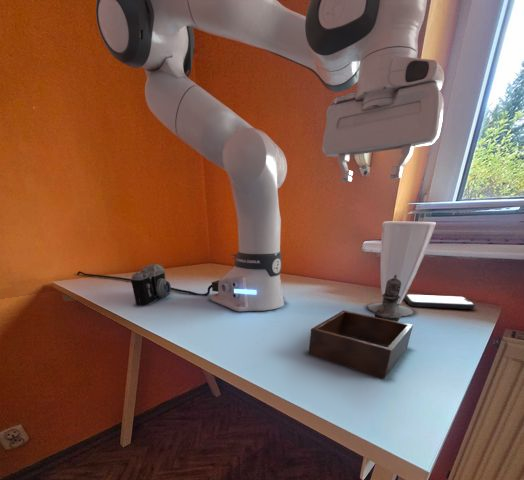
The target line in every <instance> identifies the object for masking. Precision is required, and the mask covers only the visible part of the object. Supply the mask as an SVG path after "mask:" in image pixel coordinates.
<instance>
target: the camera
mask: <svg viewBox="0 0 524 480" xmlns="http://www.w3.org/2000/svg"><path fill="white" fill-rule="evenodd" d="M130 279H131V281H130V283H131V286H132V292H133V296H134V301H135V306H137V307H147V306H149V305H150V304H152V303H155V302H156V301H158V300H160V299H162V298H166V297H167V296H169V295H170V294H171V291H172V290H171V288H172V287H171V283H170V282H169V281H168V280H167V279H166V274H165V267H164V266H163V265H161V264H158V263H150V264H148V265H145V266H144V267H143V268H142V269H141V270H140V271H139V272H138V271H137V272H135V273H134V274H132V275H131V278H130Z"/></svg>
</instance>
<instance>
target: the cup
mask: <svg viewBox="0 0 524 480" xmlns="http://www.w3.org/2000/svg"><path fill="white" fill-rule="evenodd" d="M436 225H437V223H436V221H410V220H409V221H403V220H402V221H400V220H399V221H397V220H396V221H395V220H394V221H390V220H389V221H383V222H382V226H381V228H382V229H381V241H380V243H381V244H380V261H379V262H380V266H379V267H380V269H379V273H380V274H379V275H380V293H381V302H374V303H370V304H368V306H367V309H368V310H369V311H370V312H372V313H373V311H374V310H377V309H380V307H381V305H382V301H383V296H382V295H383V294H384V293H385V289H386V284H387V281H388V280H390V279H392V278H394V275H395V274H396V275H397V277H396V278H397V279H398V280H400V281H401V288H400V292H399V296H400V298H399V299H398V302H397V311H398V312H400V313H401V314H402V316H401V317H400V318H402V317H410V316H412V315H413V314H414V310H413V309H412V308H410V307H407V306H405V305H402V301H403V300H404V299H405V295H407V293H408V291H409V290H410V288H411V285H412V283H413V281H414V279H415V277H416V275H417V274H418V270H419V268H420V266H421V263H422V261H423V260H424V257H425V255H426V252H427V250H428V247H429V244H430V241H431V239H432V236H433V233H434V231H435V228H436Z"/></svg>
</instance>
